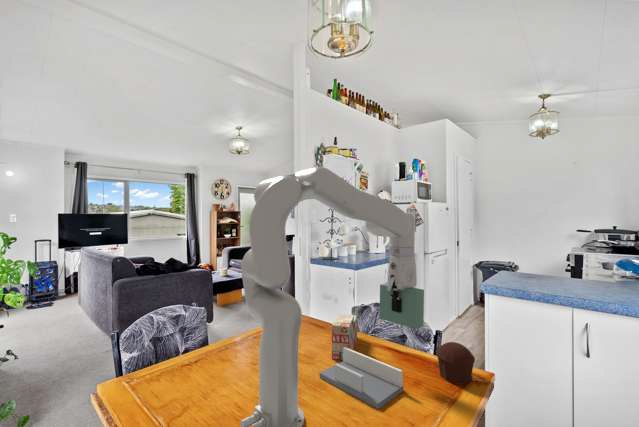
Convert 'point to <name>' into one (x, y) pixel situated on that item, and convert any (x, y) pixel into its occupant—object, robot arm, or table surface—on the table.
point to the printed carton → (343, 334)
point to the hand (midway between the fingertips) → (401, 309)
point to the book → (403, 307)
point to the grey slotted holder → (365, 378)
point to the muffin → (455, 363)
